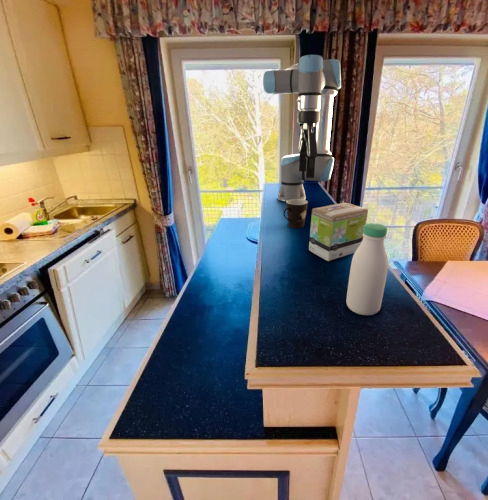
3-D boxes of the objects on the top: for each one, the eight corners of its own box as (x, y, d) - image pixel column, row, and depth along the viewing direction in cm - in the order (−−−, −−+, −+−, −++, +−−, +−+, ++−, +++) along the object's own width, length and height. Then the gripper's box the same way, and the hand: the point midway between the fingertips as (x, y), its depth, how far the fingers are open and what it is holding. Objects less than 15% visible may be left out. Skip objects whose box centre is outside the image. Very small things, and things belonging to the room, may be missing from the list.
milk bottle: (382, 318, 62) (400, 234, 53) (347, 314, 63) (358, 232, 54) (377, 298, 69) (391, 220, 60) (344, 295, 70) (354, 219, 61)
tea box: (329, 262, 85) (333, 216, 79) (308, 251, 93) (310, 208, 87) (362, 251, 93) (369, 208, 86) (340, 241, 100) (345, 200, 94)
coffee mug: (301, 220, 120) (301, 198, 116) (310, 227, 113) (311, 203, 109) (276, 224, 117) (276, 201, 113) (284, 231, 110) (284, 206, 105)
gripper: (292, 111, 106) (290, 169, 115) (305, 109, 83) (302, 181, 92) (311, 111, 106) (308, 168, 115) (330, 109, 84) (324, 180, 93)
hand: (306, 174), depth 104 cm, fingers open, 13 cm apart
